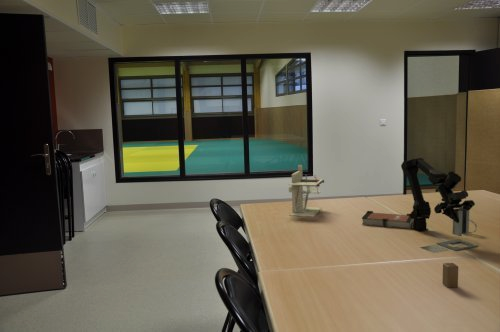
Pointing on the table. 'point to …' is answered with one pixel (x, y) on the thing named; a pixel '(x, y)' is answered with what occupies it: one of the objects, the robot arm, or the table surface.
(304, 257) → the table surface
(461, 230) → the grey clip
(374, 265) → the table surface
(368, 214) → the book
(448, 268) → the wooden block
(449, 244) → the rail plate
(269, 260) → the table surface
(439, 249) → the grey square plate
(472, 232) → the ring
